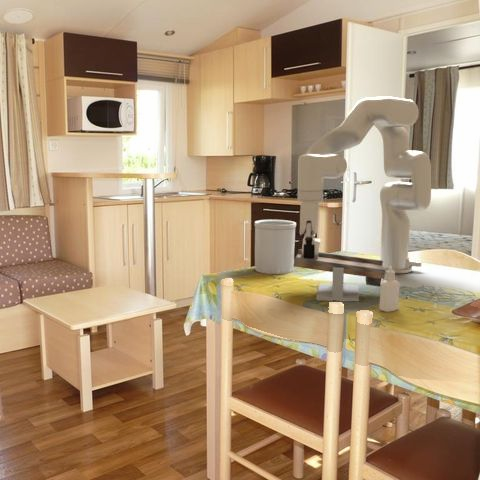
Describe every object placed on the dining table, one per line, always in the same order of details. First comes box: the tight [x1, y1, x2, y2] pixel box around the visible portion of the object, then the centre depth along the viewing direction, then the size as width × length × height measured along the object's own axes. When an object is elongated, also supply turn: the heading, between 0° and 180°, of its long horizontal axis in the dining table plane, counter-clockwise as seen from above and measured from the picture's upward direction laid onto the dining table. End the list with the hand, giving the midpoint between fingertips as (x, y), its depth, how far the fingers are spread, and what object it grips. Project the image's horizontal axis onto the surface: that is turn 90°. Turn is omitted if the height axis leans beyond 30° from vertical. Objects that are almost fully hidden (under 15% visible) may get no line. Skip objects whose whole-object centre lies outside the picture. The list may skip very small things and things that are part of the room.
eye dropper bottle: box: [378, 266, 400, 313], centre depth 158 cm, size 4×6×12 cm
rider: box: [301, 237, 321, 260], centre depth 176 cm, size 5×5×6 cm
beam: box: [293, 248, 386, 288], centre depth 175 cm, size 26×14×6 cm, turn 80°
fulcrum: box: [315, 267, 360, 302], centre depth 175 cm, size 12×17×10 cm
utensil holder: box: [254, 219, 297, 275], centre depth 208 cm, size 15×15×18 cm
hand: (309, 255), depth 176 cm, fingers closed on rider, 5 cm apart
